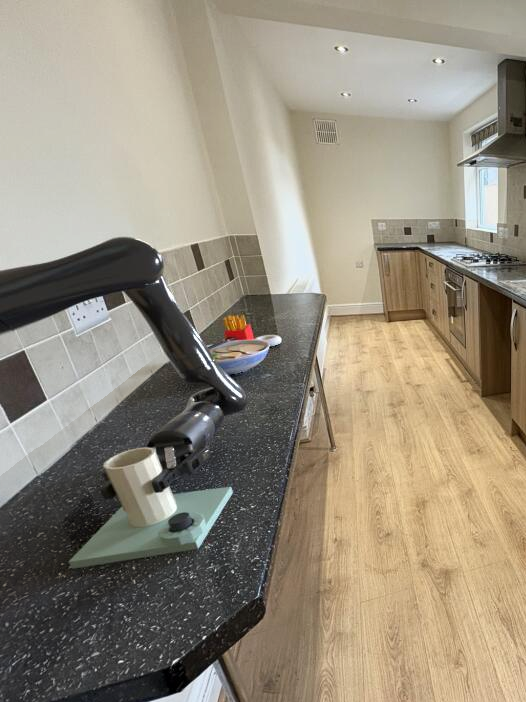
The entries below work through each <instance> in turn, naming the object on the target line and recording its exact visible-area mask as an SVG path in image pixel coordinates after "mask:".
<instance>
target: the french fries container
mask: <svg viewBox="0 0 526 702" xmlns="http://www.w3.org/2000/svg"><path fill="white" fill-rule="evenodd" d="M226 316H227V317H223V318H222V319H221V321H222V323H223V324H224V326H225V329H226V330H224V331H223V332H224V336H225V338H227V337H230V338H232V337H234V336H236V337H237V338H236V339H233V340H231V341H236V340H254V339H255V337H254V333H253V330H252V326H251V323H247V322H246V318H245V315H244V314H241V315H240V317H239V315H238V314H234V315H230V314H228V315H226Z"/></svg>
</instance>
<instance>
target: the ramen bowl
mask: <svg viewBox="0 0 526 702" xmlns="http://www.w3.org/2000/svg"><path fill="white" fill-rule="evenodd" d="M236 338H237V337H236V336H234V337H232V338H230V337H227V338H226V337H224V338H223V339H221V340H219V341H217V342H215V343H213V344H206V346H207V348H208V349H209V351H210V353H211V354H212V356H213V358H214V359H215V361H216V363H217V364H218V365H219V366H220V367H221V368H222V369H223V370H224V371H225V372H226V373H227V374H228V375H229V376H232V375H231V374H235V375H239V374H238V373H240V374H242V373H241V372H243V373H245V372H247V371H249V370H250V369H252V368H254V367H257V366H258V365H259V364H260V363H261V362H262V361H264V359H265V358H266V357H267V354H268V352H269V350H270V348H269V347H270V345H269V342H266V341H263V340H236V341H231V340H233V339H236Z"/></svg>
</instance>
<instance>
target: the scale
mask: <svg viewBox="0 0 526 702" xmlns="http://www.w3.org/2000/svg"><path fill="white" fill-rule="evenodd" d="M233 493H234V491H233V489H232V486H223V487H217V488H209V489H203V490H201V489H200V490H195V491H194V490H193V491H188V492H186V491H185V492H180V493H173V496H174V498H175V501H176V504H177V509H176V511H175V512H174V513H173V514H172V515H171V516H170V517H168V518H167V519H165V520H163V521H161V522H159V523H156V524H154V525H150V526H146V527H134V526H132V525H131V524H130V522H129V520H128V518H127V516H126V514H125V512H124V510H123V507H122V506H121V507H120V508H119V509H118V510H117V511H116V512H115V513H114V514H113V515H112V516H111V517H110V518H109V519H108V520H107V521H106V522H105V524H103V525H102V526H101V527H100V528H99V530H97V531H96V533H95V534H94V535H93V536H92V537H91V538H89V540H87V542H86V543H85V544H84V545H82V547H81V548H80V549H79V550H78V551H77V552H76V553H75V554H74V555H73V556H72V557H71V558H70V559H69V561H68V564H69V566H70V567H71V569H73V570H74V569H78V568H79V569H80V568H85V567H93V566H98V565H105V564H110V563H116V562H117V563H118V562H123V561H130V560H136V559H143V558H150V557H154V556H155V557H156V556H160V555H168V554H173V553H179V552H185V551H186V552H187V551H192V550H198V549H199V548H200V547H201V545H202V543H203V542H204V540H205V539H206V537H207V536H208V534H209V532H210V531H211V529H212V527H213V525H214V524H215V523H216V521H217V520H218V517H219V516H220V515H221V513H222V511H223V509H225V506H226V505H227V503H228V502H229V500H230V499H231V497H232V495H233ZM183 512H187V513H189V515H190V517H191V520H192V523H193V524H192V526H190V527H189V528H187V529H186V530H183V531H181V532H175V533H173V532H172V531H171V528H170V526H169V523H168V520H169V519H170V518H171V517H172V516H174V515H176V514H179V513H183Z"/></svg>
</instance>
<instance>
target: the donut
mask: <svg viewBox="0 0 526 702" xmlns="http://www.w3.org/2000/svg"><path fill="white" fill-rule="evenodd" d="M254 340H263V341H266V342H269V345H270V346H275V345H278V344H280V343H281V344H282V342H283V341H282V337H281V336H279V335H276V334H265V335H260V336H257V337H254ZM281 344H280V345H281ZM278 346H279V345H278Z"/></svg>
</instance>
